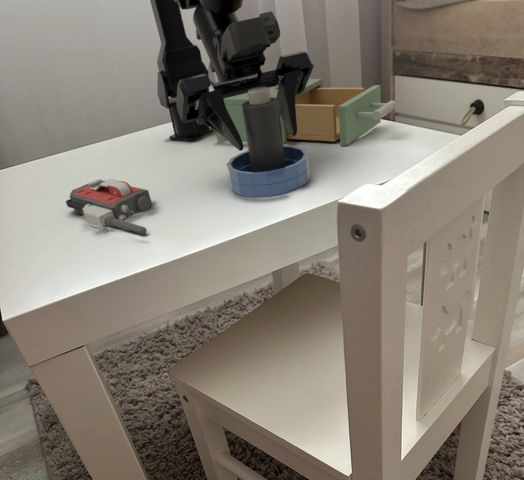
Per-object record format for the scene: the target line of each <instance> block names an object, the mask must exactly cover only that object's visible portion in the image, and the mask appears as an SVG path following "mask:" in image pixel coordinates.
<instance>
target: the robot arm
mask: <svg viewBox="0 0 524 480" xmlns="http://www.w3.org/2000/svg"><path fill="white" fill-rule="evenodd" d="M149 1H150V5H151V9H152V12H153V17H154V20H155V21H154V22H155V24H156V28H157V32H158V36H159V40H160V47H159V48H160V49H159V52H158V56H157V60H156V65H157V68H158V71H157V84H156V85H157V88H156V92H157V97H158V101H159V104H160V105H161V106H162V107H164V108H165V109H168V111H169V116H170V121H171V125H172V129H173V134H171V135H170V136H169V140H172V141H173V140H176V141H186V142H188V141H189V142H194V141H197V140H199V139H201V138H202V137H205V136H207V135H209V134H211V133H213V132H218V133H219V134H220V135H222V136H223V137H224V138H225V139H226V140H225V141H227V142H228V143H230V144H231V145H232V146H233V147H235V148H236V149H237V150H238V152H239V151H243V150H244V144H243V141H242V140H241V137H240V135H239V133H238V131H237V129H236V127H235V125H234V123H233V121H232V119H231V117H230V115H229V113H228V111H227V109H226V106H225V103H224V98H228V97H237V96H241V95H245V94H248V91H249V90H251V89H254V88H259V87H268V88H274V90H275V92H276V94H277V97H276V98H277V99H278V102H279V111H280V115H281V117H282V119H283V121H284V123H285V125H286V126H287V128H288V130H289V131H290V133H291V134H292V136H295V135H296V133H297V121H296V108H295V96H296V95H298V94H300V93H302V92H303V91H304V89H305V87H306V84H307V82H308V79H310V77H311V75H312V72H313V70H314V67H315V65H314V63H313V61H312V58H311V56H310V55H309V53H308V52H307V51H298V52H292V53H287V54H284V55H279V58H278V61H277V64H276V67H275V69H272V70H269V71H264V72H263V71H262V69H261V66H265V63H266V56H265V54H264V52H265V51H266V49H267V48H270V47H271V45H272V44H276V42H277V41H278V40H279V38H280V37H281V29H280V28H281V27H280V25H279V21H278V19H277V18H276V16H275V14H274V12H273V11H272V10H271V11H266V12H262V13H259V15H258V16H257V17H253V18H247V19H243V20H239V17H238V15H237V13H236V12H237V11H238V10H240V8H242V7H243V2H244V0H149ZM192 9H194V11H193V15H192V21H193V24H194V27H195V36H196V39H197V40H198V41H201V43H202V46H203V47H204V50H205V52H206V54H207V56H208V59H209V69H207V66H206V64H205V63H204V62H203V59H202V54H201V49H200V48H199V46H198V45H196V44H194V43H193V42H192V41H191V40H190V39H189V38H188V37H187V34H186V29H185V25H184V20H183V17H182V12H181V10H185V11H187V10H192ZM209 70H210V71H211V73H215V74H216V77H217V79H218V81H216V82H213V81H212V80H210V77H209V75H210V74H209Z"/></svg>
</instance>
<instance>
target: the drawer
mask: <svg viewBox="0 0 524 480" xmlns="http://www.w3.org/2000/svg"><path fill="white" fill-rule="evenodd" d="M381 86H382V85H381V84H378V85H377V84H374V85H372V86H369V88H365V87H323V88H313V89H312V90H310V91H308V92H306V93H304V94H302V95H300V96H298V97H296V98H295V108H296V121H297V133H296V135H295V136H292V134H291V133H290V131H289V130H288V128H287V126H286V135H287V139H293V140H303V141H305V140H306V141H319V142H336V141H338V140H339V146H344V147H345V146H346V147H348V146H349V145H351V144H352V143H353V142H355V141H357V139H359V138H360V137H362V136H363V135H365V134H366V133H367V132H369V131H370V130H372V129H373V128H374V127H375V126H377V125H378V124H380V123H382V122H381V119H383V118H384V117H385V116H387V115H388V114H390V113H391V112H392V111H394V110H395V109H396V108H397V102H396V101H395V100H393V99H392V100H389V101H388V102H382V101H381V100H382V99H381V98H382V97H381V96H382V95H381V93H382V90H381V89H382V87H381Z"/></svg>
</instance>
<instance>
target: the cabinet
mask: <svg viewBox="0 0 524 480" xmlns="http://www.w3.org/2000/svg"><path fill="white" fill-rule="evenodd" d="M313 88H324V85H323V78H309V79H308V82H307V84H306V87H305V89H304V91H303V92H302V93H300V94H298V95H296V96H295V98H296V97H298V96H300V95H302V94H304V93H306V92H308V91H310V90H312V89H313ZM269 91H270V97H272V98H276V97H277V94H276V92H275V90H274V88H269ZM247 101H249V98H248V94H245V95H241V96H237V97H228V98H224V103H225V106H226V109H227V111H228V113H229V115H230V117H231V119H232V121H233V123H234V125H235V127H236V129H237V131H238V133H239V135H240V137H241V140H242V142H247V137H246V130H245V123H244V117H243V110H242V104H243V103H245V102H247ZM280 120H281V129H282V139H283V145H286V144H288V143H290V142H291V141H293V140H294V139H287V135H286V125H285V123H284V121H283V119H282V117H281V115H280ZM215 132H216V131H215ZM216 137H217V144H218V145H219V144H221V143H223V142H224V141H227V140H226V139H225V138H224V137H223V136H222V135H220V134H219V133H218V132H216Z"/></svg>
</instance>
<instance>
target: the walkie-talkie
mask: <svg viewBox="0 0 524 480" xmlns="http://www.w3.org/2000/svg"><path fill="white" fill-rule="evenodd" d="M69 194H70V195H69V199H67V200H66V201H65V204H66V206H67V207H68V208H69V209H73V210H74V212H75V213H77V214H79V215H83V216H84V217H85V219H86V223H88V224H90V225H92V226H93V227H96V228H99V229H100V230H102V231H105V230H107V229H108V228H107V227H111V228H118V229H120V230H123V231H128V232H136V233H138V234H147V233H148V230H147V228H146V227H145V226H142V225H138V224H135V223H132V222H128V221H124V220H128V217H130V216H131V215H134V214H136V213H139V212H142V213H143V212H145V211H147V210H150V209H151V206H152V205H153V203H152V199H151V195H150V192H149V190H148V189H145V188H142V187H141V188H140V187H136V186H132V185H130V184H129V183H128V182H127V181H125V180H119V179H114V178H110V179H107V180H103V179H102V177H101V178H98V179H96V180H93V181H90V182H88V183H86V184H84V185H81V186H80V187H76V188H74V189H72V190H71V192H70V193H69Z"/></svg>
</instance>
